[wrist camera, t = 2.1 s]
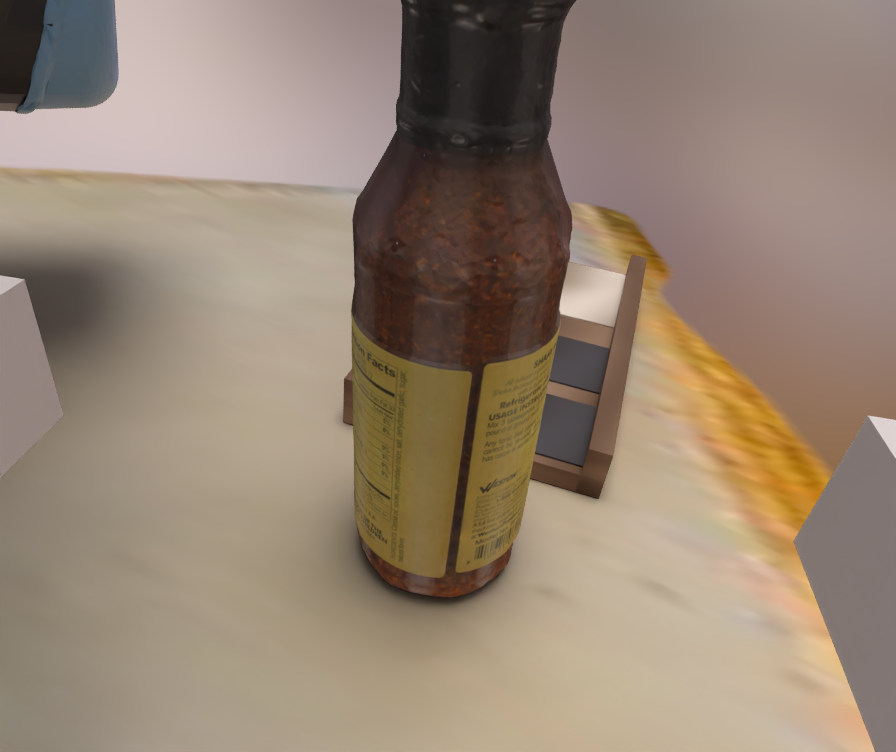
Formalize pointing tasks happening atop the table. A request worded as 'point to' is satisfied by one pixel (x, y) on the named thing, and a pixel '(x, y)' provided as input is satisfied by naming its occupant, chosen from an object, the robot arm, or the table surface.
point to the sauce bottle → (458, 293)
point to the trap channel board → (582, 377)
